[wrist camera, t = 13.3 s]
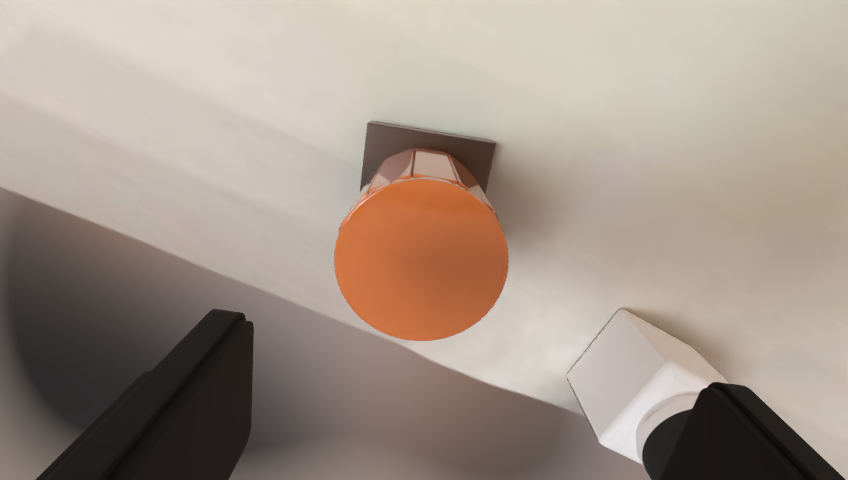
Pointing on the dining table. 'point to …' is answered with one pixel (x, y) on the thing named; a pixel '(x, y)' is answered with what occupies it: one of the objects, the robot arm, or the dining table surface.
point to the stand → (400, 138)
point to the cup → (421, 248)
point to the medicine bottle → (639, 389)
